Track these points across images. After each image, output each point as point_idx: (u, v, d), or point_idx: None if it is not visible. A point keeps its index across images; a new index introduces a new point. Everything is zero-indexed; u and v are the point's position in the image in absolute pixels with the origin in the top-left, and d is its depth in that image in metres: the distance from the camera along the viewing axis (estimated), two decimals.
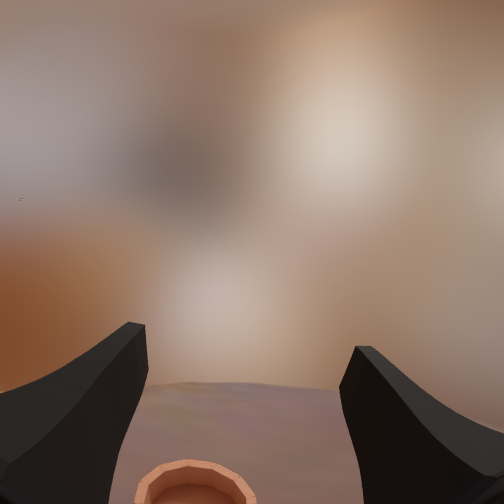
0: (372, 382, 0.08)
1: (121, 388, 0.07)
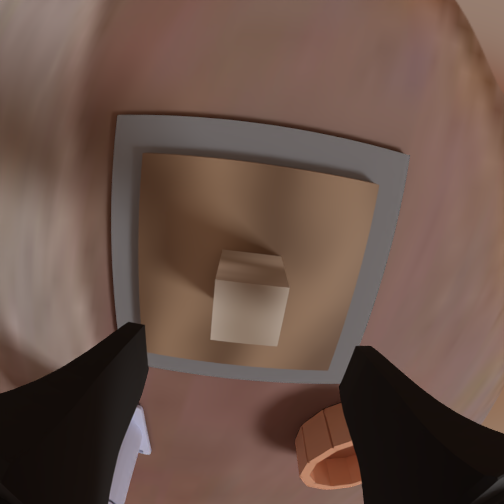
0: (372, 382, 0.08)
1: (121, 388, 0.07)
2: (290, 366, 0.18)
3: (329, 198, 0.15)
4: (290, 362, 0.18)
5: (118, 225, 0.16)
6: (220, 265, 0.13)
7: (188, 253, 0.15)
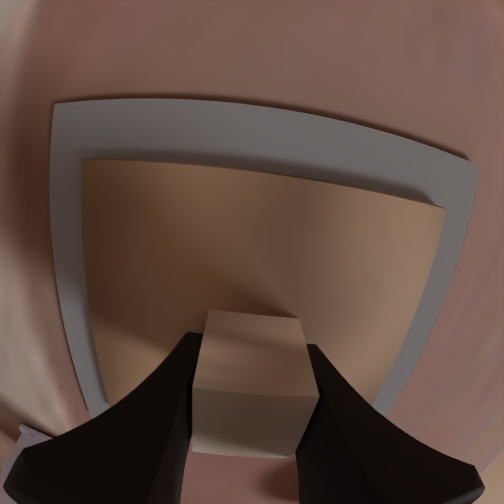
0: None
1: (191, 402, 0.07)
2: None
3: (378, 230, 0.09)
4: None
5: (62, 265, 0.10)
6: (203, 349, 0.08)
7: (158, 313, 0.10)
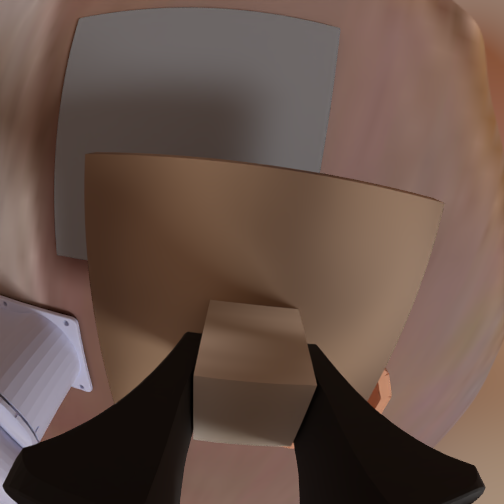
0: None
1: (191, 401, 0.07)
2: None
3: (376, 223, 0.09)
4: None
5: (65, 104, 0.14)
6: (204, 338, 0.08)
7: (160, 303, 0.10)
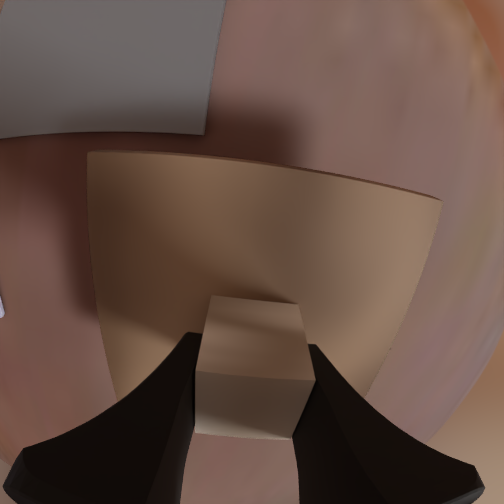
0: None
1: (191, 401, 0.07)
2: None
3: (375, 220, 0.09)
4: None
5: (6, 6, 0.09)
6: (205, 333, 0.08)
7: (162, 299, 0.10)
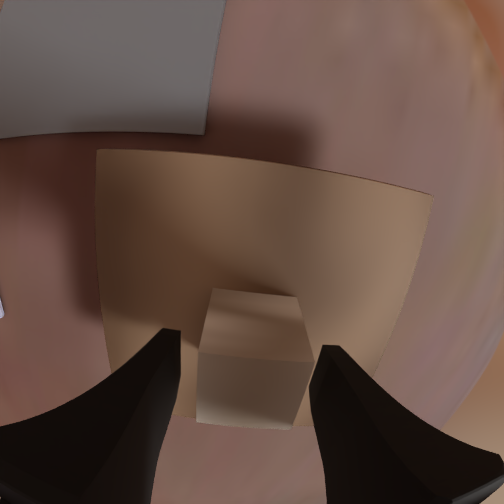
0: (335, 383, 0.08)
1: (162, 397, 0.07)
2: (302, 423, 0.13)
3: (368, 214, 0.10)
4: (302, 419, 0.13)
5: (6, 6, 0.09)
6: (207, 320, 0.09)
7: (165, 292, 0.11)
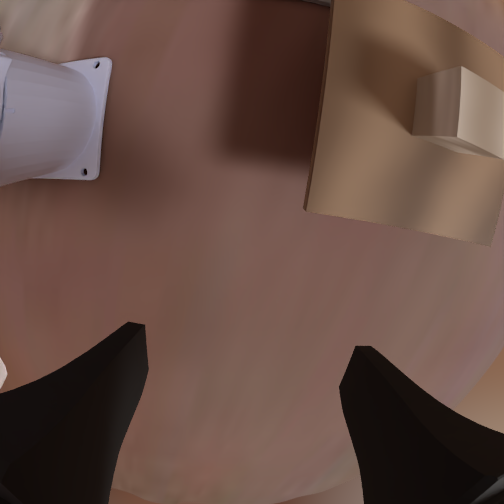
0: (372, 382, 0.08)
1: (121, 388, 0.07)
2: (464, 236, 0.14)
3: (487, 60, 0.10)
4: (465, 231, 0.13)
5: None
6: (442, 72, 0.09)
7: (385, 74, 0.11)
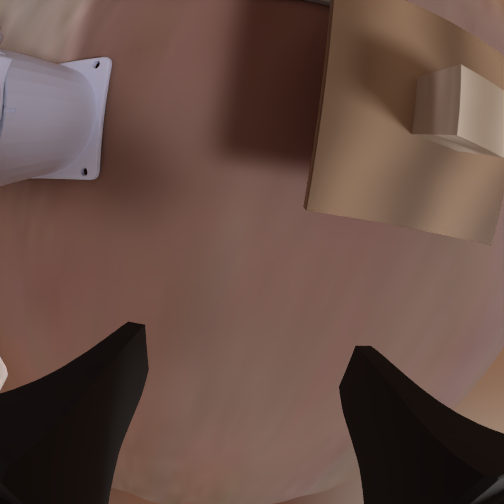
0: (372, 382, 0.08)
1: (121, 388, 0.07)
2: (465, 235, 0.14)
3: (486, 59, 0.10)
4: (466, 229, 0.13)
5: None
6: (442, 70, 0.09)
7: (385, 73, 0.11)
